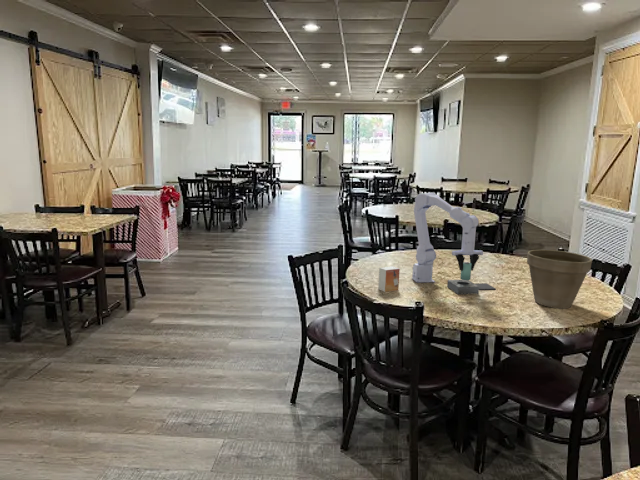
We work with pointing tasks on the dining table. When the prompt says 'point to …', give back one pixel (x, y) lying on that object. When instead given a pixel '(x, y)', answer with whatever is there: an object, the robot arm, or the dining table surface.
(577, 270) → the plant pot
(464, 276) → the teal and grey cylinder
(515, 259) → the dining table surface
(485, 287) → the mat
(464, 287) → the housing
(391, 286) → the small box
